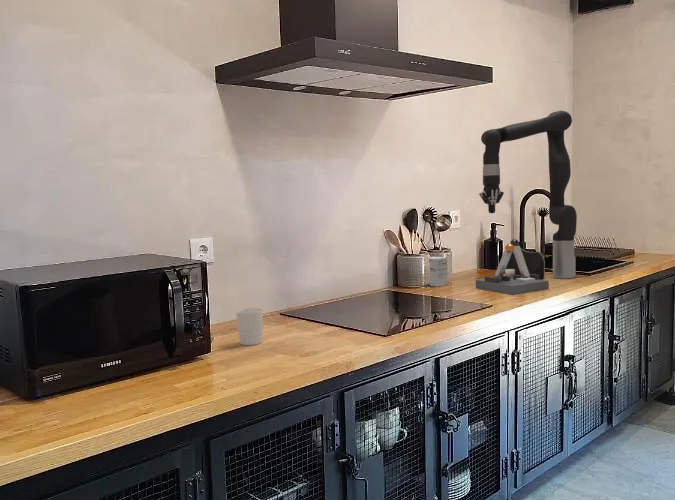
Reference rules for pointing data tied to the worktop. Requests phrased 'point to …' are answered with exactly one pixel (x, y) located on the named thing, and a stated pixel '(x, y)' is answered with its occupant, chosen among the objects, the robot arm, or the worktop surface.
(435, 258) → the grey marked cylinder
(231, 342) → the worktop surface
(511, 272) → the button
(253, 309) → the white cup
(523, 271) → the lever
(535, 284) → the console
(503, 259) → the lever
